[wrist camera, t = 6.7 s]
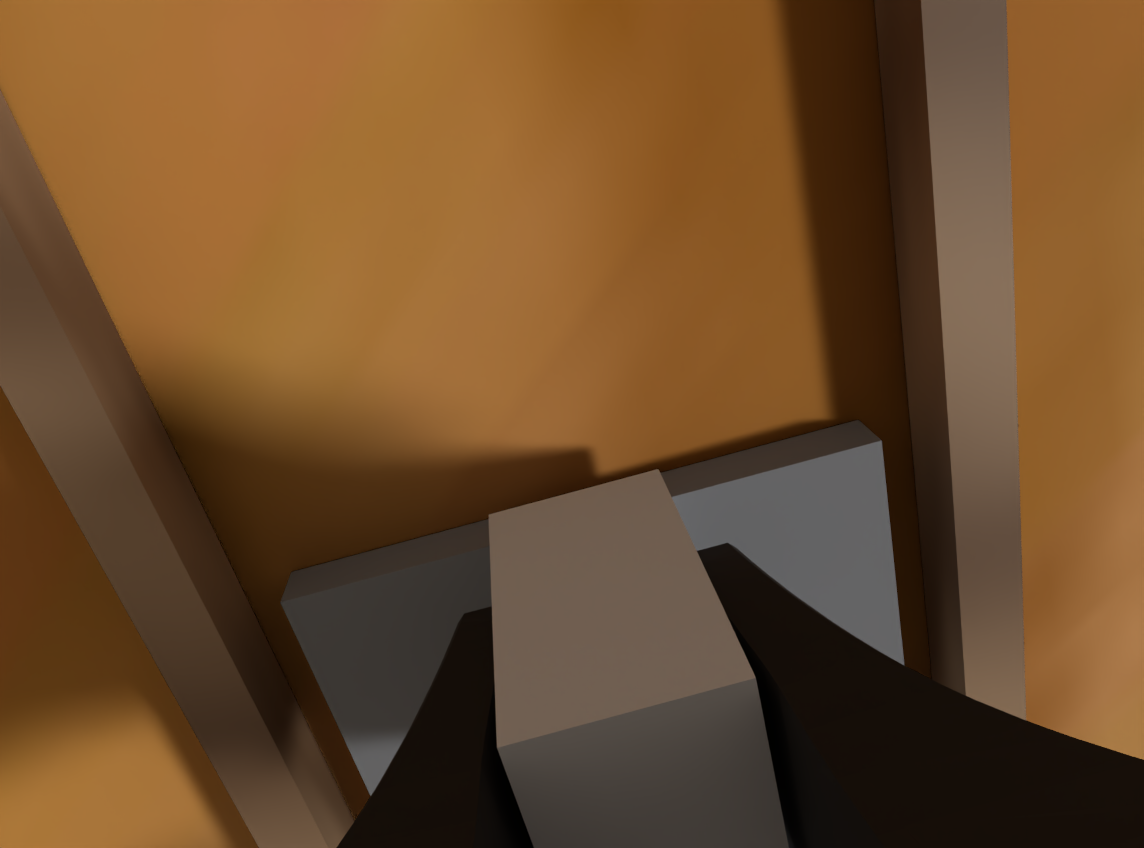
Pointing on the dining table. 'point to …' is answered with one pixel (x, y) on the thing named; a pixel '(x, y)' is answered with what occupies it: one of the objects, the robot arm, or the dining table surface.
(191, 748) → the dining table surface
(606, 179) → the dining table surface
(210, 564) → the walnut guide rails
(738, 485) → the grey tray plate
